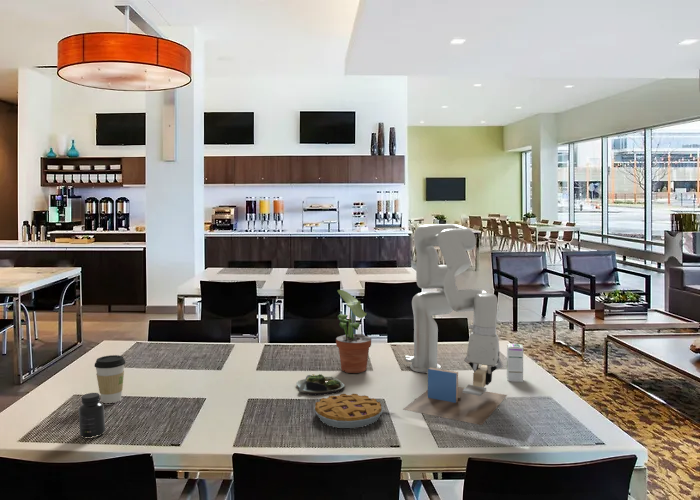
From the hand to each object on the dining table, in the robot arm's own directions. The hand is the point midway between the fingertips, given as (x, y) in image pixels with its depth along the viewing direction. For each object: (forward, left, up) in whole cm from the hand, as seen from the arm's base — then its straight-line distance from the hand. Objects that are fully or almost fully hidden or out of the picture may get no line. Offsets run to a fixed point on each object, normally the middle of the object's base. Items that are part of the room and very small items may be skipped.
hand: (482, 382), depth 191 cm
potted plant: (-55, +10, -7) cm, 57 cm away
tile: (-11, -6, -6) cm, 14 cm away
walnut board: (-6, -7, -7) cm, 12 cm away
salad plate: (-56, -14, -8) cm, 59 cm away
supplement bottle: (-92, -82, -7) cm, 124 cm away
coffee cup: (-111, -61, -7) cm, 127 cm away
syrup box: (+5, +27, -7) cm, 28 cm away
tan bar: (0, -3, 0) cm, 3 cm away
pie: (-33, -33, -8) cm, 48 cm away
